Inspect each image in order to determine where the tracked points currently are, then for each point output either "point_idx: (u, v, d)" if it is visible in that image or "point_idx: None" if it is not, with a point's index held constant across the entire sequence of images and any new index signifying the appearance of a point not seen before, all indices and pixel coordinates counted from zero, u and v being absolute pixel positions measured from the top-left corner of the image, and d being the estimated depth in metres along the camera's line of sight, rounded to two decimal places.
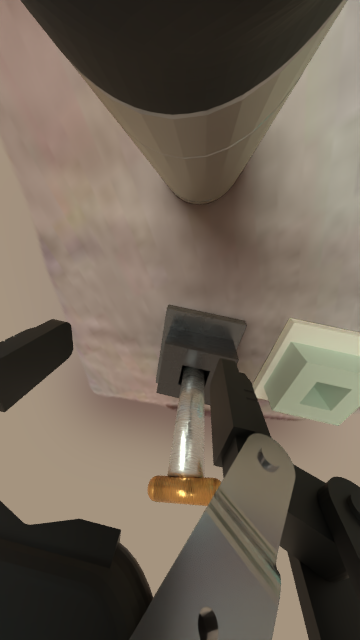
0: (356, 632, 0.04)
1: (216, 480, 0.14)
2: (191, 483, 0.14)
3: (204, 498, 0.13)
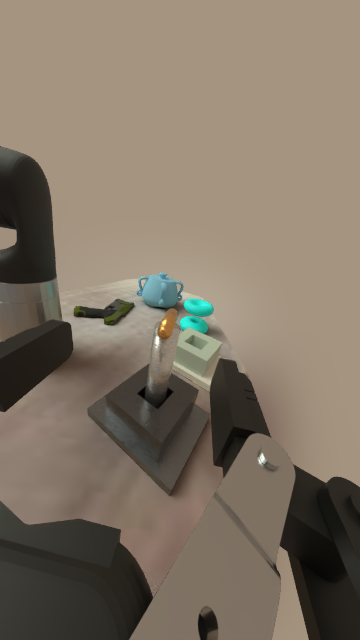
0: (356, 632, 0.04)
1: None
2: None
3: (168, 311, 0.22)
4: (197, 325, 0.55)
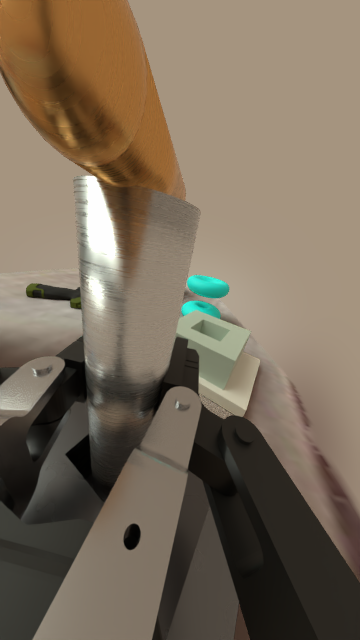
0: (249, 518, 0.05)
1: None
2: None
3: None
4: (206, 311, 0.39)
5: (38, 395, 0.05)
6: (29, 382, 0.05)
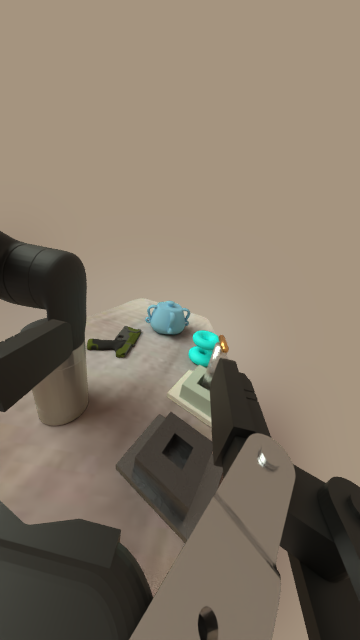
0: (356, 632, 0.04)
1: None
2: (219, 341, 0.40)
3: (220, 337, 0.41)
4: (205, 358, 0.58)
5: None
6: None
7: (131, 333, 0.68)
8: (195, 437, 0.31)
